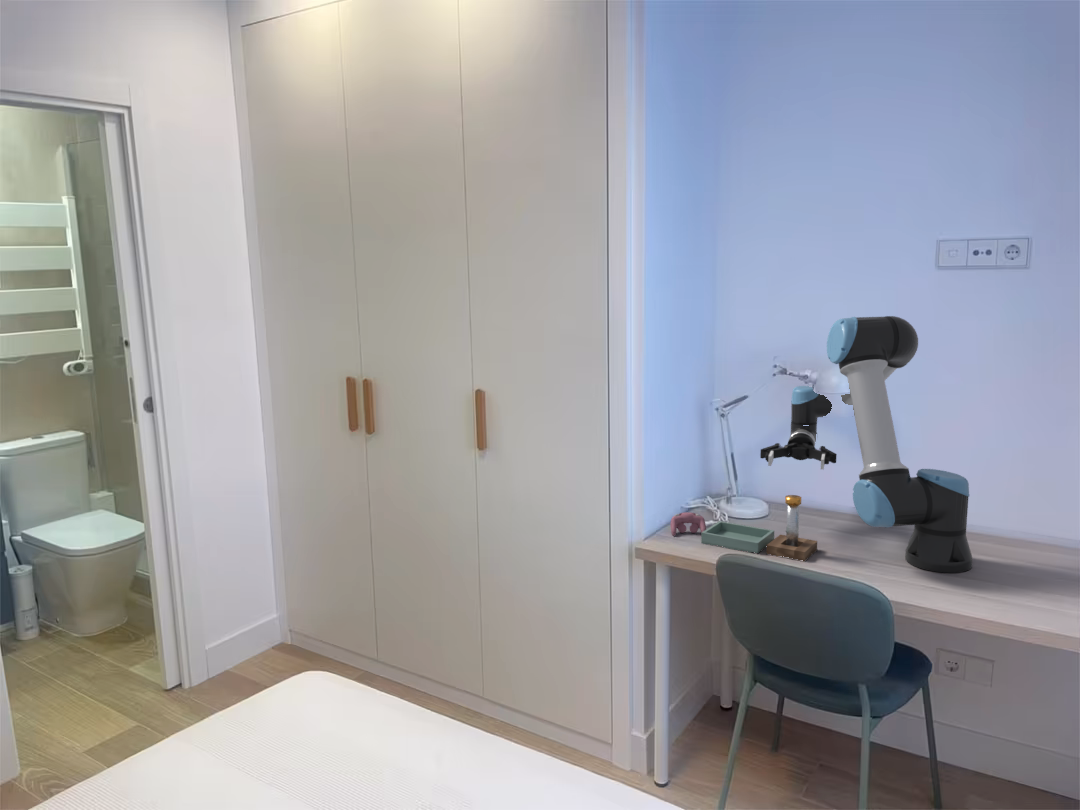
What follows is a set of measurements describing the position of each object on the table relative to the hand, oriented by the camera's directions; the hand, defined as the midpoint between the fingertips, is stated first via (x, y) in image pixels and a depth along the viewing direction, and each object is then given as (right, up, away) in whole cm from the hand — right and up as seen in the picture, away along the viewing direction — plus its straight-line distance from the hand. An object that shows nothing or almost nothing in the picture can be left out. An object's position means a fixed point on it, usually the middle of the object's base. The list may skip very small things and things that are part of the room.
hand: (795, 462), depth 222 cm
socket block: (-3, -23, -6) cm, 24 cm away
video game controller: (-27, -21, +11) cm, 36 cm away
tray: (-15, -22, +3) cm, 27 cm away
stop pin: (-3, -23, -6) cm, 24 cm away
